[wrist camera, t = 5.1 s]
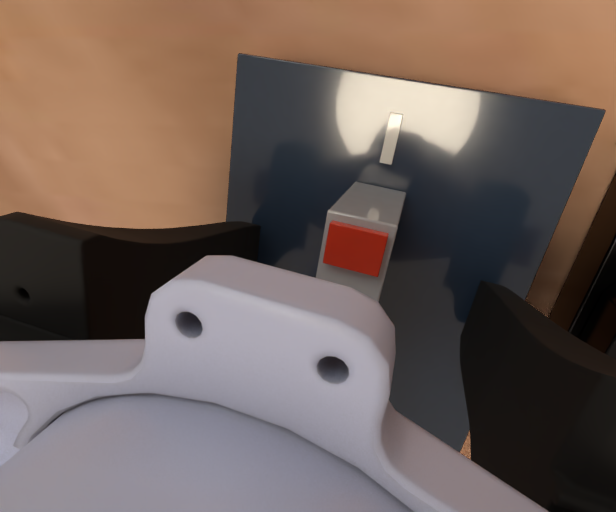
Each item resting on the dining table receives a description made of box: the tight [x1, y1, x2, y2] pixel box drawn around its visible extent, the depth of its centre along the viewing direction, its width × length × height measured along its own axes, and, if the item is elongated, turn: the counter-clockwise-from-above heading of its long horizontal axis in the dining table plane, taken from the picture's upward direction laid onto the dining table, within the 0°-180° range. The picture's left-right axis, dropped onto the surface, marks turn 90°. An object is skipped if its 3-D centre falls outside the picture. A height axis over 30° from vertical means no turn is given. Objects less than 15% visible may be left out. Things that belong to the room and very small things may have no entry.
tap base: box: [226, 53, 606, 452], centre depth 14 cm, size 12×10×3 cm
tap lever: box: [316, 182, 406, 302], centre depth 11 cm, size 6×2×4 cm, turn 171°
